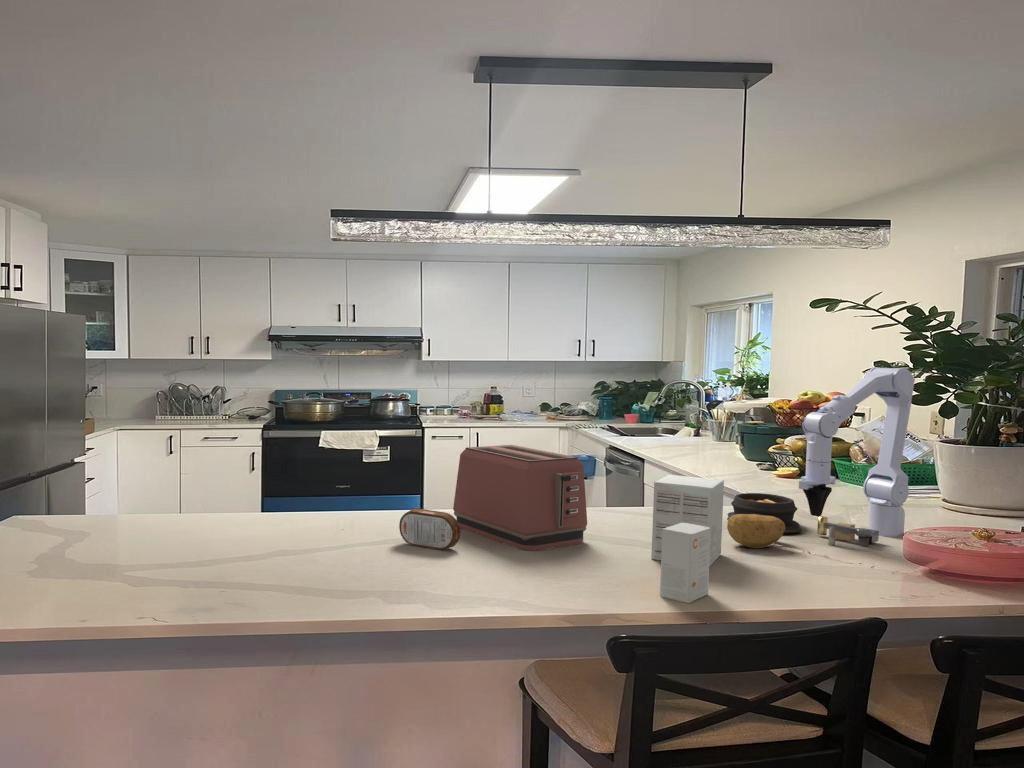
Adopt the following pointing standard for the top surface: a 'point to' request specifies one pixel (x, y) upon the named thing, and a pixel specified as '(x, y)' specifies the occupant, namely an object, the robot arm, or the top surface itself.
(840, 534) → the nut block
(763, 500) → the casserole
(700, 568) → the small box
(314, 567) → the top surface
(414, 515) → the tin
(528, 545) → the toaster
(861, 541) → the press base
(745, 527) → the potato
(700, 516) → the supplement box
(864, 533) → the lever
